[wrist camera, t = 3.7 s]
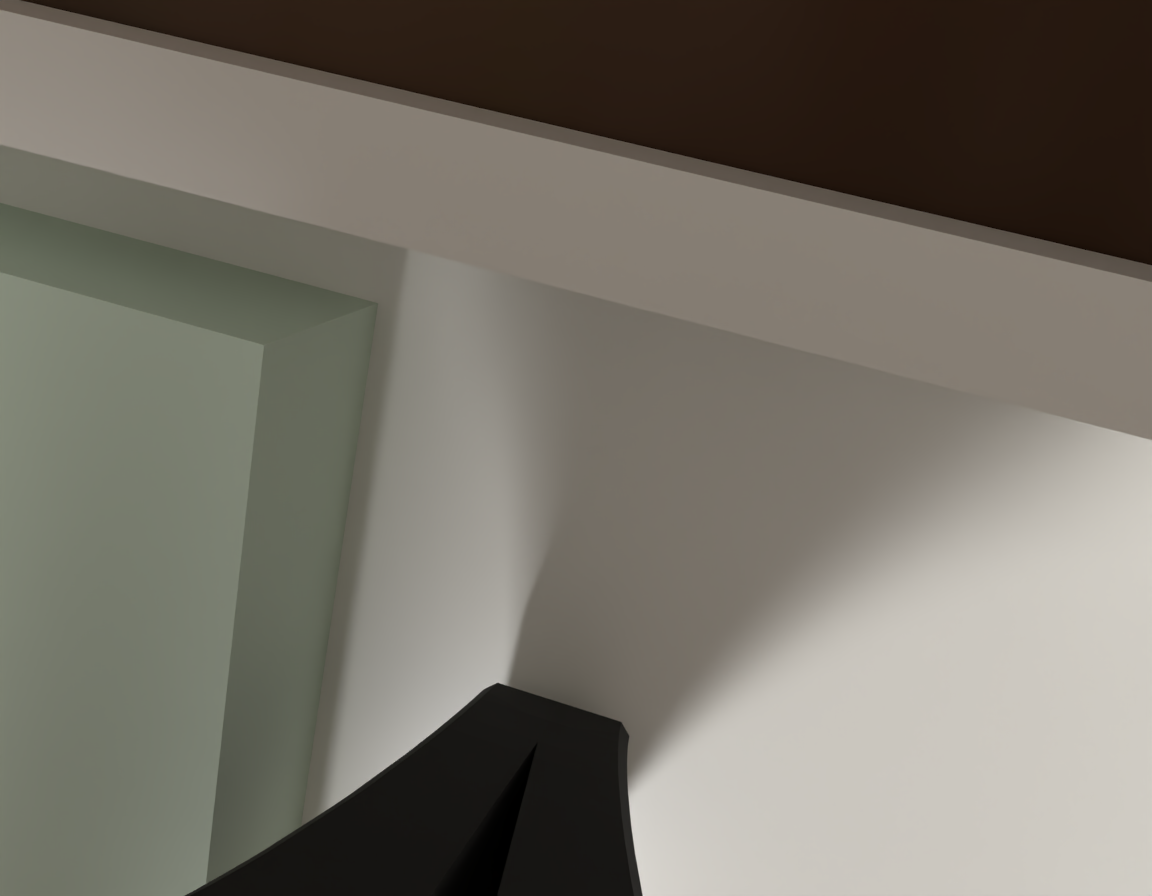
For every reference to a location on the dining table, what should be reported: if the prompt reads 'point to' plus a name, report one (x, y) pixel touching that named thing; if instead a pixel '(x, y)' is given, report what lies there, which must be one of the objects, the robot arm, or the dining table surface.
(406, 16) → the dining table surface
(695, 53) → the dining table surface
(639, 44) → the dining table surface
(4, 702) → the cover plate
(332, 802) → the box
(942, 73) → the dining table surface
